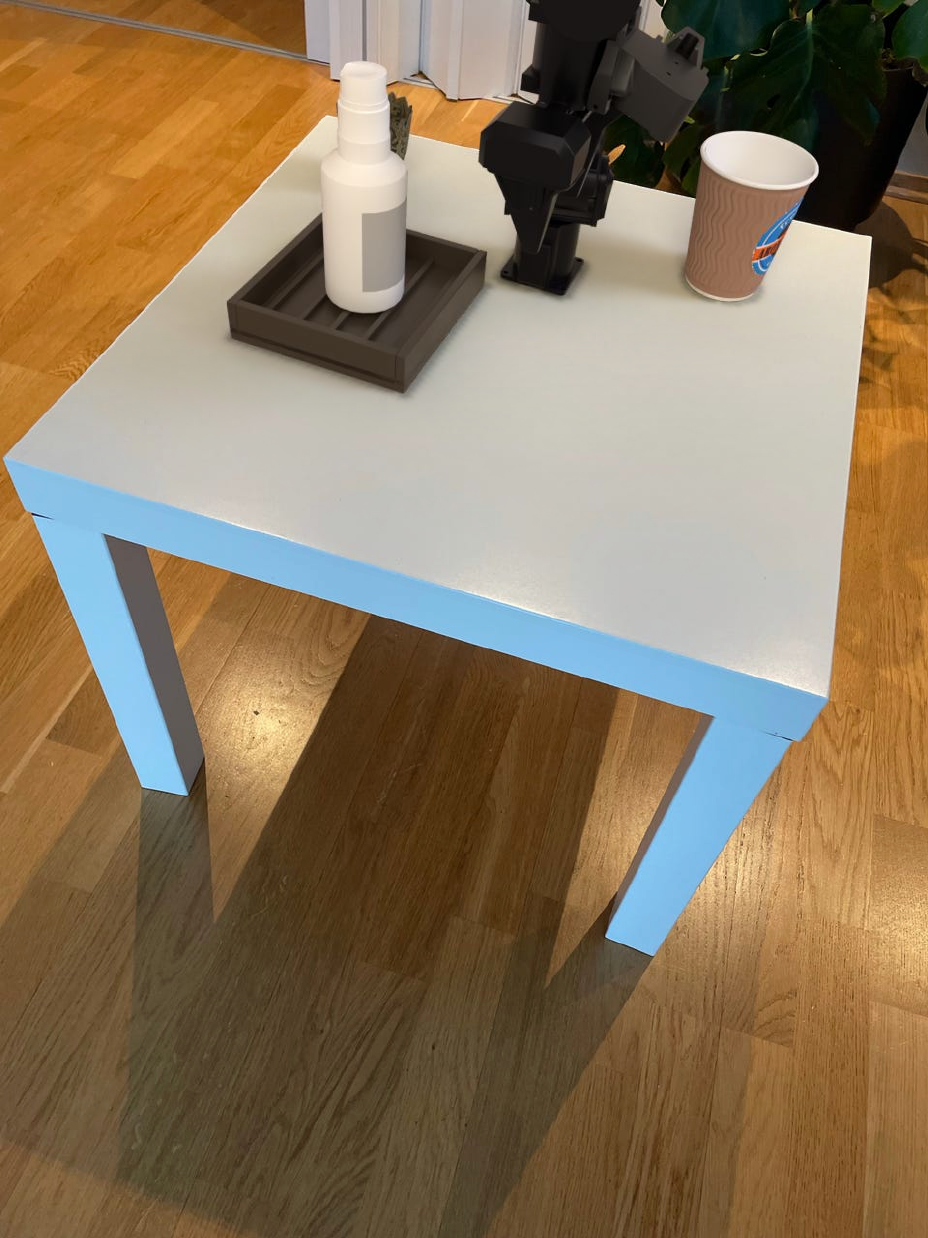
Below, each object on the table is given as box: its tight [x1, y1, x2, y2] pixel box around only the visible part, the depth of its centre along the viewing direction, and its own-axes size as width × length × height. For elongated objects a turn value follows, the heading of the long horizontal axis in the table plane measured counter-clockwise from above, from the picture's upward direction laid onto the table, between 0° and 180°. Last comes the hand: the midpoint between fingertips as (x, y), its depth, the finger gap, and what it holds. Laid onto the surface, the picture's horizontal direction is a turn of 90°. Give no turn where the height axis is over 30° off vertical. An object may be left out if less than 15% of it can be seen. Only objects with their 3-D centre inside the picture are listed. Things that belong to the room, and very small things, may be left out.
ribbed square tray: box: [226, 211, 488, 394], centre depth 82 cm, size 18×16×4 cm
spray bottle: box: [319, 60, 409, 313], centre depth 75 cm, size 7×7×18 cm
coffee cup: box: [685, 130, 819, 302], centre depth 87 cm, size 10×10×12 cm
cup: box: [335, 91, 413, 162], centre depth 95 cm, size 8×7×8 cm
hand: (551, 223), depth 70 cm, fingers open, 9 cm apart
